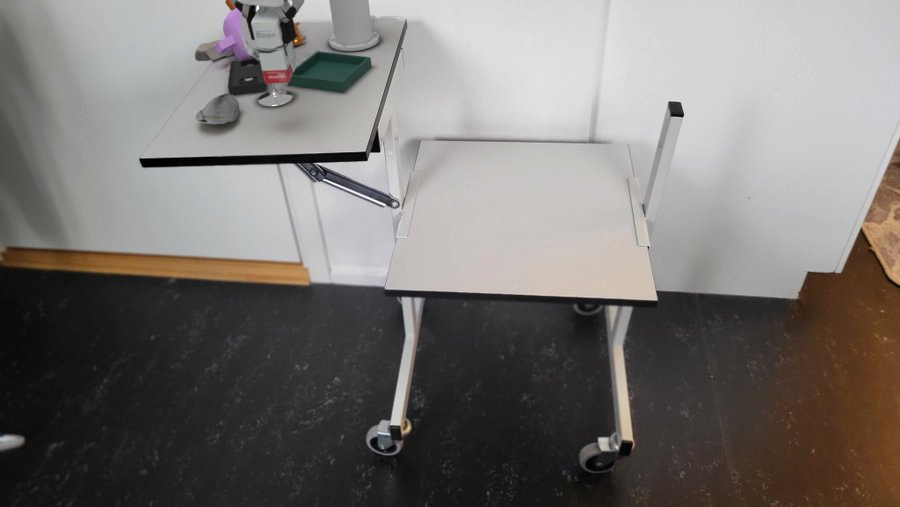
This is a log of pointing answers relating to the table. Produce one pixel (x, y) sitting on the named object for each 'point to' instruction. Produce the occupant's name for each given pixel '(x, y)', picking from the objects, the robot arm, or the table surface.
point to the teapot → (233, 36)
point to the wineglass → (250, 46)
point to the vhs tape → (246, 77)
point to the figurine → (297, 36)
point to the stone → (210, 52)
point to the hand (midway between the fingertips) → (273, 38)
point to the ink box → (273, 47)
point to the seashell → (219, 110)
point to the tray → (330, 71)
